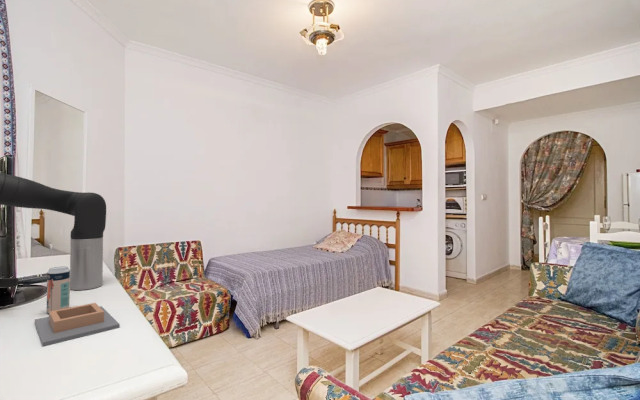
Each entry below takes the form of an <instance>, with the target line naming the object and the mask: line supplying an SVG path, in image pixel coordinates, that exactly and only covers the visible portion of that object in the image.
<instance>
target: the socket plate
mask: <svg viewBox="0 0 640 400" xmlns="http://www.w3.org/2000/svg"><path fill="white" fill-rule="evenodd" d="M34 325H35V328H36V330H37V334H38V336H39V339H40V343H41V346H42V347H45V346H50V345H54V344H58V343H62V342H66V341H70V340H74V339H78V338H81V337H82V338H83V337H86V336H90V335H95V334H99V333H103V332H107V331H110V330H114V329H118V328H120V322H118V321H117V320H116V319H115V318H114V317H113V316H112V315H111V314H110V313H109V312H108V311H107V310H106V309H105V308H104V307H103V306H101V305H98V304H97V303H96V302H92V303H86V304H81V305H76V306H72V307H70V306H69V308H65V309H60V310H54V311H49V313H48V316H45V317H41V318H36V319H34Z"/></svg>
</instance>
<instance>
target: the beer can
mask: <svg viewBox="0 0 640 400" xmlns="http://www.w3.org/2000/svg"><path fill="white" fill-rule="evenodd" d="M70 291H71V289H70V267H69V266H53V267H50V268H49V269H48V271H47V272H46V313H48V314H49V311H54V310H60V309H65V308H70V298H71V297H70V296H71V295H70Z"/></svg>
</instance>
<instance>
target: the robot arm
mask: <svg viewBox="0 0 640 400" xmlns="http://www.w3.org/2000/svg"><path fill="white" fill-rule="evenodd" d="M0 205H1V206H7V207H13V208H15V207H16V208H24V209H38V210H49V211H52V212H53V211H54V212H58V213H62V214H64V215H69V216H72V217H74V218H73V220H74V221H73V222H74V223H73V227H72V229H71V230H70V240H69V241H70V245H69V247H70V249H69V250H70V251H69V252H70V253H69V255H70V256H69V258H70V259H69V270H70V291H81V290H82V291H84V290H91V289H97V288H99V287H102V286H103V276H104V275H103V272H104V271H103V270H104V269H103V267H104V265H103V264H104V261H103V260H104V232H105V230H106V224H107V223H106V222H107V203H106V199H104V197H103V196H102V195H100V194H99V193H96V192H78V191H71V190H70V191H69V190H64V189H58V188H54V187H51V186H47V185H45V184H43V183H40V182H37V181H35V180H32V179H28V178H25V177H22V176H16V175H12V174H7V173H4V172H0ZM18 285H19V278H18V277H10V278H9V277H8V278H7V277H5V276H2V275H0V288H9V287H10V288H12V287H17V286H18Z"/></svg>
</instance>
